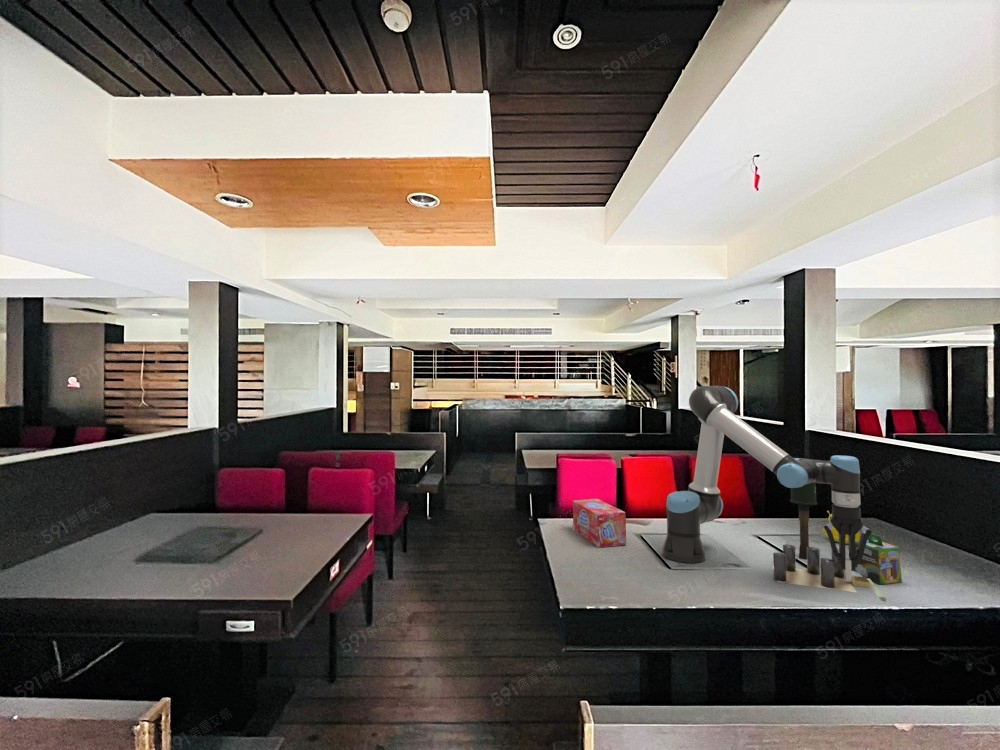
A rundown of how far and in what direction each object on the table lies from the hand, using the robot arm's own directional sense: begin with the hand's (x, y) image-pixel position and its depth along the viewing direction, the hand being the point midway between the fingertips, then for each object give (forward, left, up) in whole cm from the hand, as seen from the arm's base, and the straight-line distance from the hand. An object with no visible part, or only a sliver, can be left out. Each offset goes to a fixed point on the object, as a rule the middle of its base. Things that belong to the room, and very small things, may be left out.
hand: (847, 579), depth 155 cm
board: (-6, 0, -2) cm, 7 cm away
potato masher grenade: (-8, +23, -3) cm, 25 cm away
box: (-84, +22, -3) cm, 87 cm away
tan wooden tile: (+3, 0, -1) cm, 3 cm away
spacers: (-10, 0, -1) cm, 10 cm away
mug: (+10, +56, -3) cm, 57 cm away
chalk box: (+11, +12, -3) cm, 16 cm away
